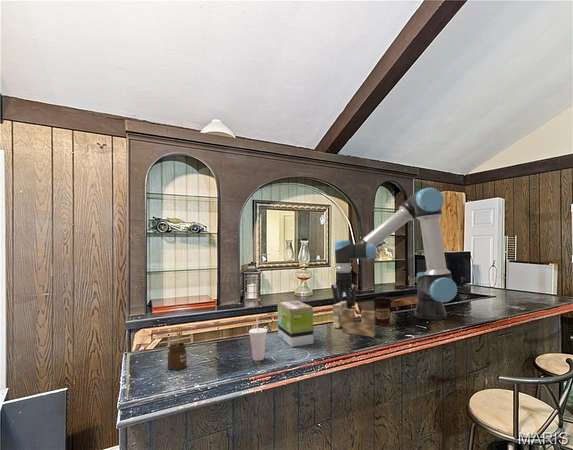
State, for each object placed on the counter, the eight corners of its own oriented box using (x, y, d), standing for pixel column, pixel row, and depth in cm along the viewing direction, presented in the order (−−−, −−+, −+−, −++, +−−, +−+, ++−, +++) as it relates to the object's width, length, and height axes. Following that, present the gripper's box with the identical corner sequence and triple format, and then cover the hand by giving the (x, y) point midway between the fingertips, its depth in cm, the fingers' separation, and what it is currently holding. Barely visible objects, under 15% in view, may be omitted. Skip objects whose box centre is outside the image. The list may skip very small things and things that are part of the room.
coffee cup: (393, 328, 145) (392, 299, 146) (374, 327, 147) (373, 298, 148) (391, 323, 154) (390, 295, 155) (373, 322, 156) (372, 295, 156)
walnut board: (375, 335, 135) (374, 311, 135) (373, 336, 133) (372, 312, 133) (344, 330, 142) (343, 308, 143) (342, 332, 140) (341, 309, 141)
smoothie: (262, 354, 115) (261, 314, 116) (271, 359, 109) (270, 318, 110) (246, 357, 111) (245, 317, 112) (254, 363, 106) (253, 320, 107)
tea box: (277, 337, 135) (276, 301, 136) (298, 334, 139) (298, 299, 140) (291, 347, 122) (290, 308, 122) (314, 343, 125) (313, 305, 126)
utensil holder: (165, 370, 102) (165, 332, 102) (171, 363, 108) (171, 327, 109) (183, 369, 102) (183, 331, 103) (188, 362, 108) (188, 326, 109)
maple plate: (344, 321, 158) (344, 300, 158) (349, 321, 156) (348, 300, 157) (333, 327, 147) (332, 305, 147) (338, 327, 145) (337, 305, 146)
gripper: (325, 272, 158) (327, 320, 157) (355, 272, 149) (358, 323, 148) (332, 270, 164) (334, 316, 163) (361, 271, 155) (363, 320, 154)
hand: (345, 320), depth 155 cm, fingers closed on maple plate, 2 cm apart
